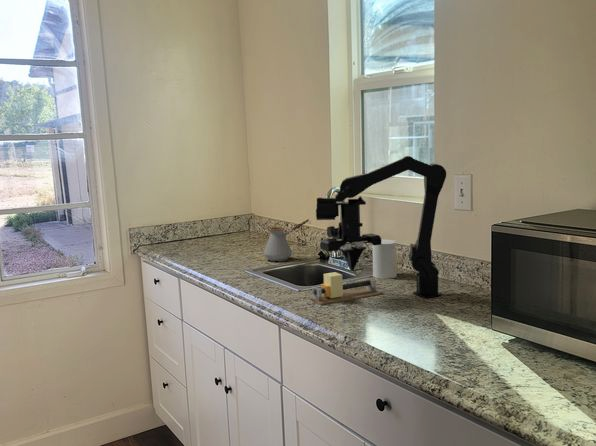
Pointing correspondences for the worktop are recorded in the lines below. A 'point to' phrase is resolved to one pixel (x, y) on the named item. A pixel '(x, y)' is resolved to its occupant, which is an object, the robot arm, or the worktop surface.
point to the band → (326, 290)
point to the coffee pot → (279, 244)
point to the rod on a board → (346, 292)
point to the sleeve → (334, 284)
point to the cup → (385, 260)
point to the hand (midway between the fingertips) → (351, 269)
